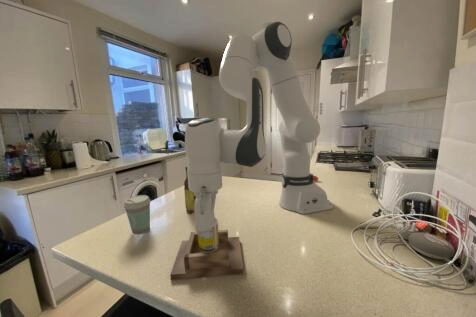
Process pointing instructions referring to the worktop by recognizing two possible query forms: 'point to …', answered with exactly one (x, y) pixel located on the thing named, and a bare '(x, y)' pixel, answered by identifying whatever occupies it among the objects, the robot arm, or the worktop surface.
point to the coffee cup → (138, 213)
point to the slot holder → (208, 258)
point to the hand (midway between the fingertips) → (208, 229)
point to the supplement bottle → (209, 239)
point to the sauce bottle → (189, 196)
